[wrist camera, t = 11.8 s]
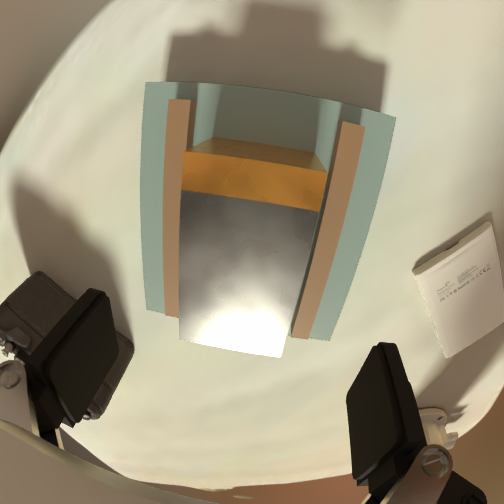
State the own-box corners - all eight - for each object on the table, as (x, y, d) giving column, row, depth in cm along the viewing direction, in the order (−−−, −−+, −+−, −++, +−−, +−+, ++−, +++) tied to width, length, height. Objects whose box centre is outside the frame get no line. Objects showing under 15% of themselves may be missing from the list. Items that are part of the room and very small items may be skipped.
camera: (27, 315, 30) (-15, 366, 21) (36, 260, 25) (-24, 317, 16) (113, 380, 33) (83, 442, 24) (142, 341, 28) (104, 419, 19)
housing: (282, 302, 20) (280, 357, 16) (200, 288, 20) (179, 339, 16) (314, 152, 15) (327, 173, 11) (212, 137, 15) (183, 151, 11)
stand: (379, 115, 16) (404, 118, 13) (325, 315, 24) (331, 352, 20) (164, 84, 17) (136, 81, 13) (159, 287, 24) (140, 319, 21)
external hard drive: (441, 349, 26) (408, 267, 22) (500, 310, 23) (484, 217, 19) (446, 360, 24) (415, 277, 20) (507, 320, 21) (494, 225, 17)
